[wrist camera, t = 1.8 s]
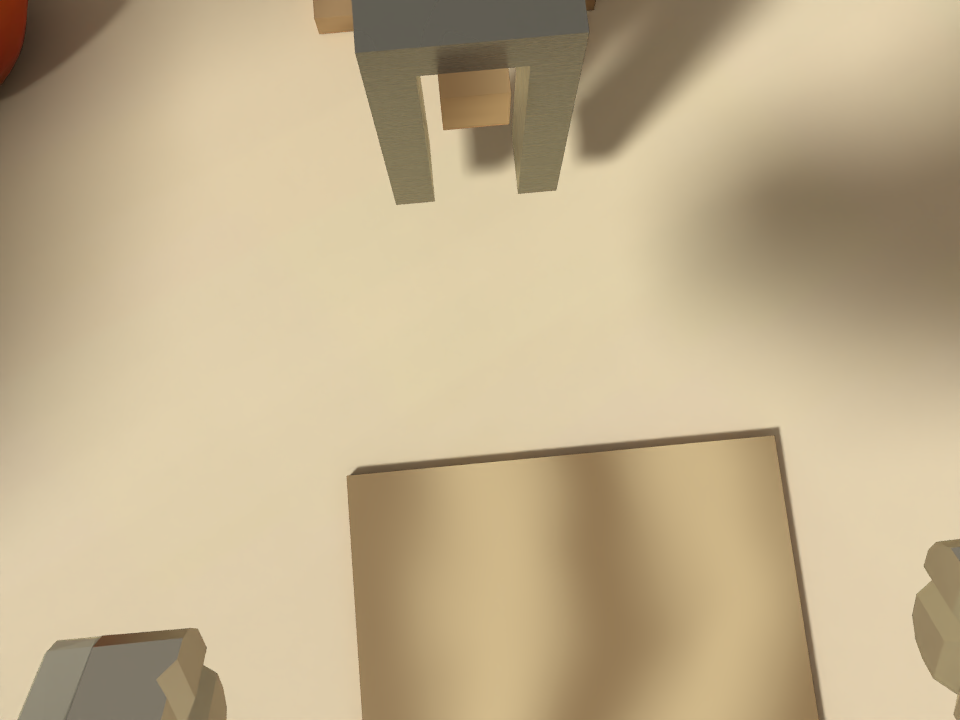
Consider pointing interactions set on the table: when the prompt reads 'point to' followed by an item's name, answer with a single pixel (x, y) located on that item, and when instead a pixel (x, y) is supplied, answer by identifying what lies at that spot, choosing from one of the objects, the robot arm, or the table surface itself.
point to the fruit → (11, 33)
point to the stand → (444, 77)
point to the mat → (581, 588)
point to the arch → (462, 48)
